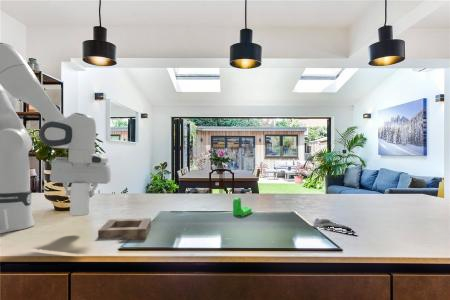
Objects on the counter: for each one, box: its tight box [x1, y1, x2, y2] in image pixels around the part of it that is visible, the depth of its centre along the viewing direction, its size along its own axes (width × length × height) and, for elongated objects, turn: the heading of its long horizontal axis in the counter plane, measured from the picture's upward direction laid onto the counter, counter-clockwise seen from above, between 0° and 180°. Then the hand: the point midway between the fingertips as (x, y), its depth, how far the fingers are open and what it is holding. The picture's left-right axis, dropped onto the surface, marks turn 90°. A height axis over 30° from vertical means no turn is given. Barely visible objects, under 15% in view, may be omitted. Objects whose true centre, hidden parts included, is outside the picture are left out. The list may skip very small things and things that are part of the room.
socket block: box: [97, 217, 152, 241], centre depth 110 cm, size 16×16×4 cm
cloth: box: [313, 218, 355, 234], centre depth 123 cm, size 26×14×2 cm, turn 3°
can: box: [69, 182, 91, 217], centre depth 108 cm, size 6×6×12 cm
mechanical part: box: [232, 197, 252, 217], centre depth 147 cm, size 12×6×8 cm, turn 155°
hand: (80, 195), depth 108 cm, fingers closed on can, 6 cm apart
